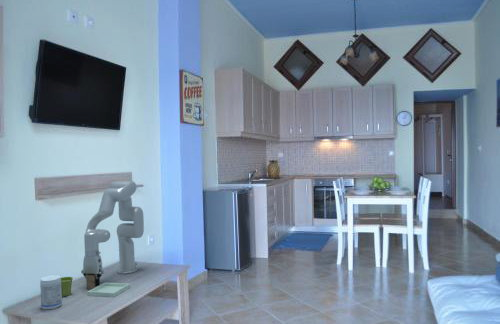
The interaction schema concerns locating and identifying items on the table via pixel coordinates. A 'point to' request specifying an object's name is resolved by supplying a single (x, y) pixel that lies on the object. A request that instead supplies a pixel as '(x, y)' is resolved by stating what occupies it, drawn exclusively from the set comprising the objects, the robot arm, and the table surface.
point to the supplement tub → (51, 292)
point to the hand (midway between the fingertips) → (93, 284)
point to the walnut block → (91, 281)
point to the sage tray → (108, 289)
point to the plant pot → (66, 285)
